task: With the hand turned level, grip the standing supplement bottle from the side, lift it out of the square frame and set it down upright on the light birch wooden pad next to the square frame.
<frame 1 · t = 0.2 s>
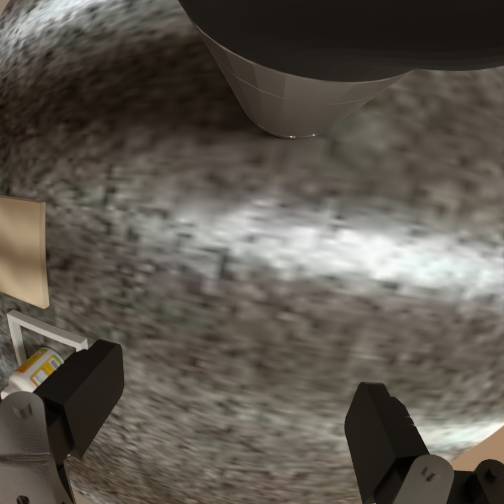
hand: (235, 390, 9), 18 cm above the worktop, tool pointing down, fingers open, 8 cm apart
supplement bottle: (54, 362, 33), resting in square frame
square frame: (53, 363, 32), on the worktop
pad: (12, 247, 29), on the worktop
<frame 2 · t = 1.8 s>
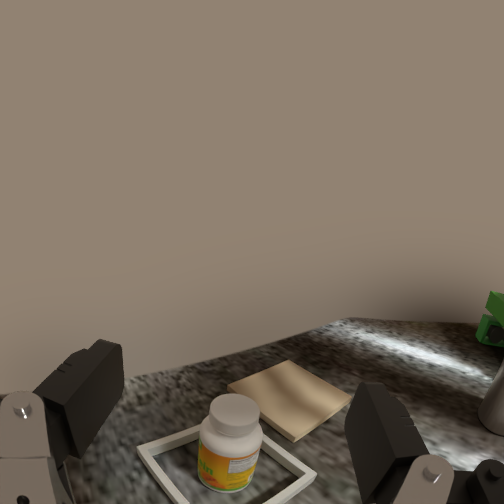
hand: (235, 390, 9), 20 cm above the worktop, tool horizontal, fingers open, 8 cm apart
supplement bottle: (224, 474, 25), resting in square frame
square frame: (224, 473, 25), on the worktop
pad: (290, 398, 38), on the worktop
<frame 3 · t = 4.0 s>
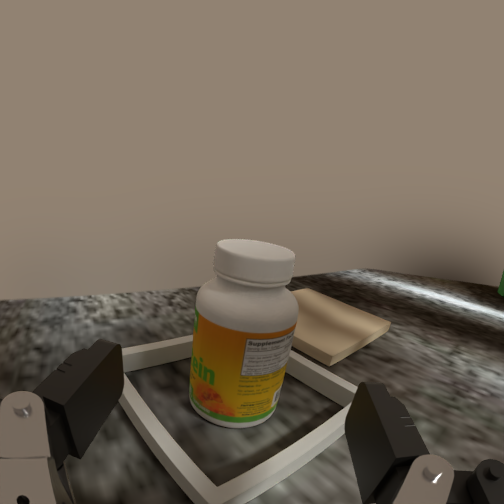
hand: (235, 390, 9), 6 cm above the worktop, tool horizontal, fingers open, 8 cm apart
supplement bottle: (231, 403, 18), resting in square frame
square frame: (232, 401, 18), on the worktop
pad: (315, 322, 31), on the worktop
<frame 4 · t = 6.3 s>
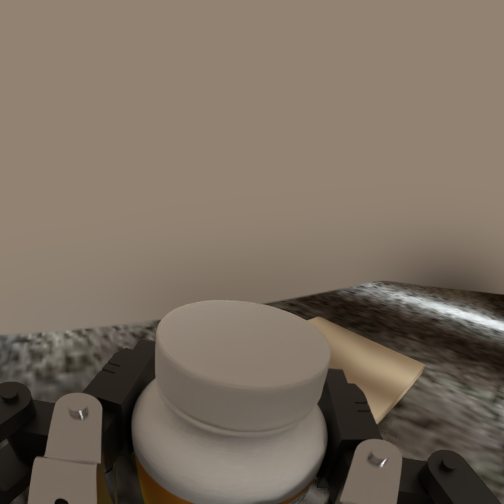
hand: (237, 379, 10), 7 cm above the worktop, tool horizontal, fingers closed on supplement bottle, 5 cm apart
pad: (331, 370, 23), on the worktop
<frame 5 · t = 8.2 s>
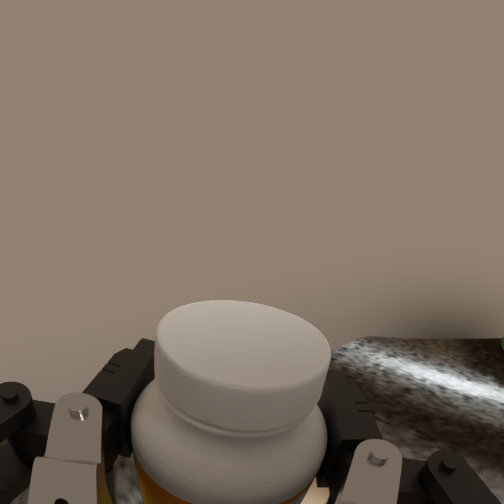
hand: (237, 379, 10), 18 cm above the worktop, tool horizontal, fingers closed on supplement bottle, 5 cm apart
pad: (295, 462, 24), on the worktop
when the fingers open (9 cm above the worktop, at t = 11.3 s): supplement bottle drops 1 cm, resting on pad.
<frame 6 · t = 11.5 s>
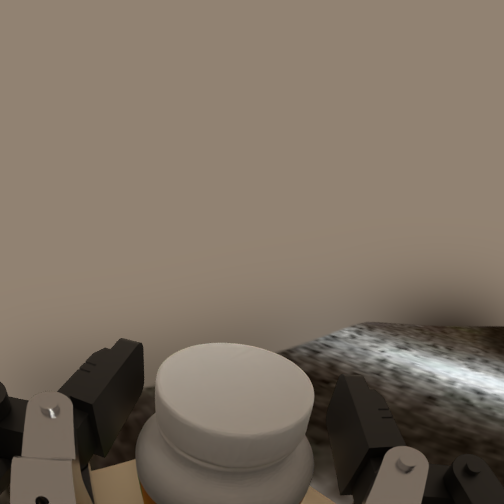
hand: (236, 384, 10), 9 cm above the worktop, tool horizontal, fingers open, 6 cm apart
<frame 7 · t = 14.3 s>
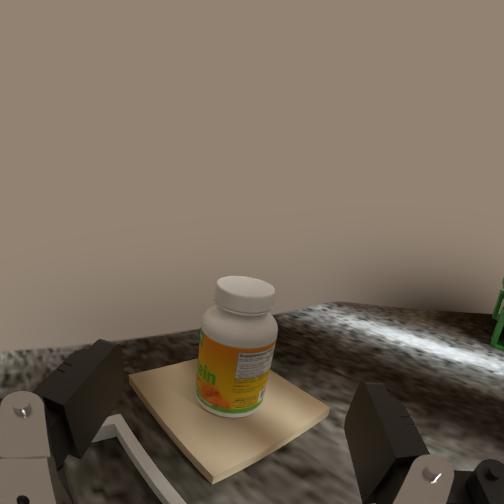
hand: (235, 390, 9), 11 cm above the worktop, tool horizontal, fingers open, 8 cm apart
supplement bottle: (228, 399, 23), point 1 cm above the worktop, touching pad
pad: (226, 405, 23), on the worktop
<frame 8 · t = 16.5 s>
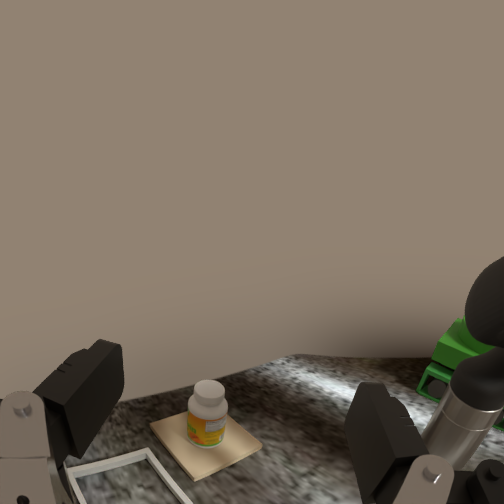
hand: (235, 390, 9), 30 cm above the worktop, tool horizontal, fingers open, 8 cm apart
supplement bottle: (205, 437, 39), point 1 cm above the worktop, touching pad
square frame: (129, 499, 26), on the worktop
tank: (486, 399, 51), on the worktop
pad: (204, 440, 40), on the worktop
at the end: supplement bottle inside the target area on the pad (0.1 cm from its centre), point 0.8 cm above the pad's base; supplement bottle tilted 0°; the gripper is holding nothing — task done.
